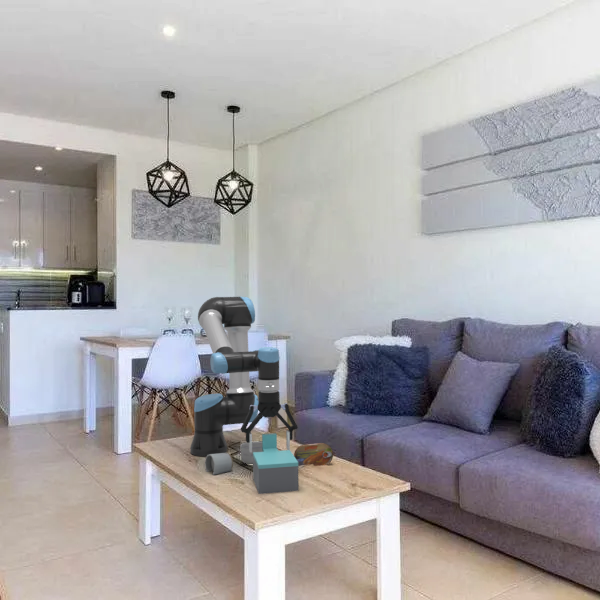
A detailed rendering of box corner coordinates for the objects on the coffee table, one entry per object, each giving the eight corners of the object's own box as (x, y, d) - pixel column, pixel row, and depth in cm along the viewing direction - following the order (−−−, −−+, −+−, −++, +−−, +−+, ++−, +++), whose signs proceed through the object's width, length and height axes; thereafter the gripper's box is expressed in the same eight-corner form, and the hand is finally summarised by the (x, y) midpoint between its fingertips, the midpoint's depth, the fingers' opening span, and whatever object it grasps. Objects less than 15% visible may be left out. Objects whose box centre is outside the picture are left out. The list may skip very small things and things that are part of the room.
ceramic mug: (234, 474, 199) (234, 452, 199) (214, 478, 194) (214, 456, 194) (220, 467, 208) (219, 447, 208) (200, 472, 203) (200, 451, 203)
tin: (295, 469, 205) (295, 446, 205) (293, 466, 208) (293, 444, 208) (333, 465, 209) (333, 443, 209) (330, 463, 212) (330, 441, 212)
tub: (253, 481, 190) (253, 455, 190) (290, 478, 193) (289, 453, 193) (258, 496, 176) (258, 468, 176) (298, 493, 178) (298, 466, 178)
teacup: (239, 468, 205) (239, 447, 205) (241, 460, 216) (241, 440, 216) (276, 468, 206) (276, 446, 206) (276, 459, 217) (276, 439, 217)
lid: (251, 454, 196) (250, 434, 196) (286, 451, 199) (286, 432, 199) (258, 472, 176) (258, 450, 176) (298, 469, 178) (298, 447, 178)
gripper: (234, 394, 190) (235, 455, 190) (305, 391, 195) (305, 450, 195) (233, 390, 198) (233, 449, 198) (300, 387, 203) (301, 445, 203)
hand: (269, 450), depth 197 cm, fingers open, 13 cm apart
